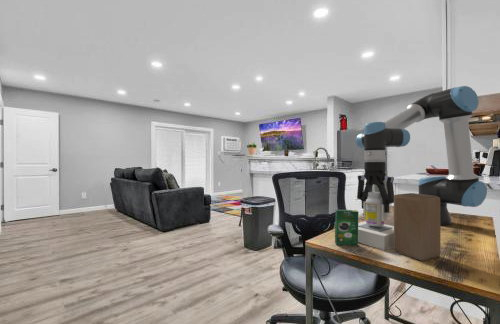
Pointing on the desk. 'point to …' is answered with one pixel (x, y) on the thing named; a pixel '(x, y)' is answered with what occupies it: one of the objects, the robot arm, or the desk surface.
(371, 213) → the supplement bottle
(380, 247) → the plinth
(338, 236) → the coffee box
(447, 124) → the robot arm
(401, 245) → the block
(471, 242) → the desk surface
